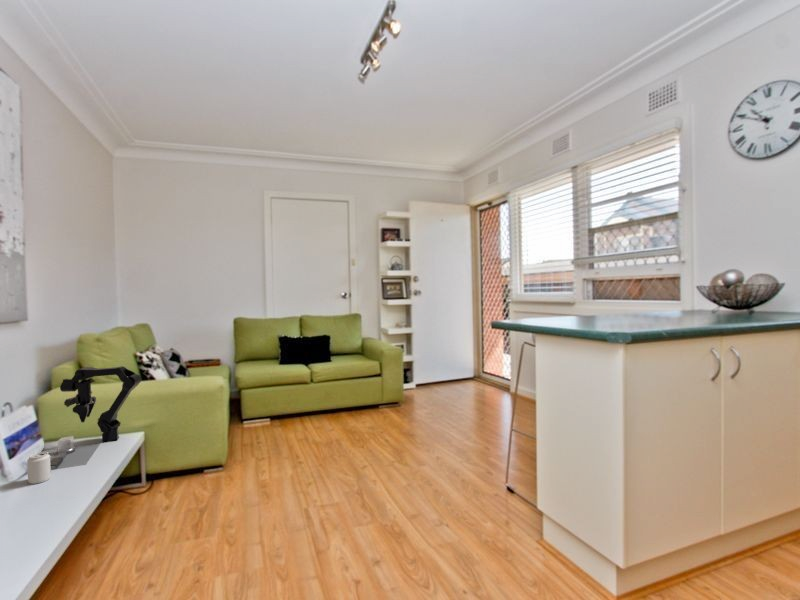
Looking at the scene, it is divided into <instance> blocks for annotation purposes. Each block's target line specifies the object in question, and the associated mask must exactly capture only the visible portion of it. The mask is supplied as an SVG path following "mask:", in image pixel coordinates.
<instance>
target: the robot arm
mask: <svg viewBox="0 0 800 600" xmlns="http://www.w3.org/2000/svg"><path fill="white" fill-rule="evenodd" d="M103 376H117V377H118V378H119V381H121V382H122V385H121V390H120V391H119V394H117V396H116V398H115V400H114V401H113V403H112V404H111V406H110V407H109V408H108V409H107V410H105V411H104V412H102V413H101V414H100V416H99V417H98V418H97V422H96V423H97V426H98V428H99V430H100V432H101V433H102V434H101V438H102V439H101V441H102V444H105V443H112V442H118V440H119V438H120V436H119V427H120V426H121V422H120V421H119V420H118V419H117V418H118V412H119V411H120V409H121V408H122V406H123V405H124V403H125V402H126V400H127V398H128V397H129V395H130V394H131V392H132V391H134V389H135V388H136V387H138V385H139V384H140V383H141V382H142V377H141V376H140V375H139V374H137V373H135V372H134V371H132V370H130V369H128V368H127V367H125V366H123V365H120V366H116V367H115V366H114V367H99V368H95V367H93V366H92V367H91V366H85V367H82V368H80V369H77V370H76V371H74V375H73V377H71V378H63V379H62V382H61V384H60V386H59V390H60V391H61V392H62V393H63V392H65V393H68V392H77V394H76V395H75V396H73V397H69V398H67V399H65V401H63V405H64V406H66V408H69V407H70V406H73V408H72V413H75V414H77V415H78V417H79V419H80V422H81V423H85V422H86V419H87V418H89V417H90V416H91V414H92V412H93V409H94V407H95V404H96V402H97V397H96V396H92V394H93V391H92V384H93V383H96V380H95V379H94V377H103ZM74 405H75V406H74Z"/></svg>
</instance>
